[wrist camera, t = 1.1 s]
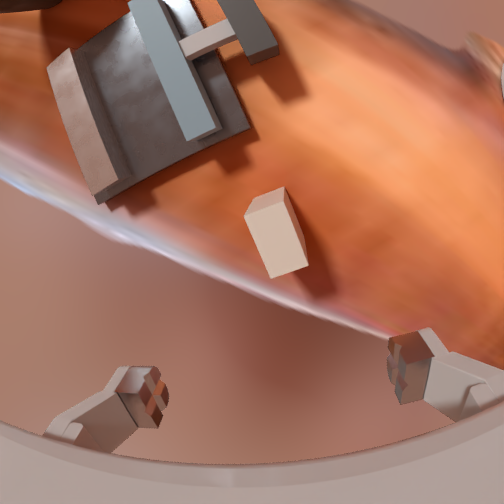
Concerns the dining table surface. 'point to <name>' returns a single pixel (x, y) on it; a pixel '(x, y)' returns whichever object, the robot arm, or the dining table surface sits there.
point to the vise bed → (134, 104)
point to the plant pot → (25, 5)
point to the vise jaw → (185, 50)
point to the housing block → (277, 232)
